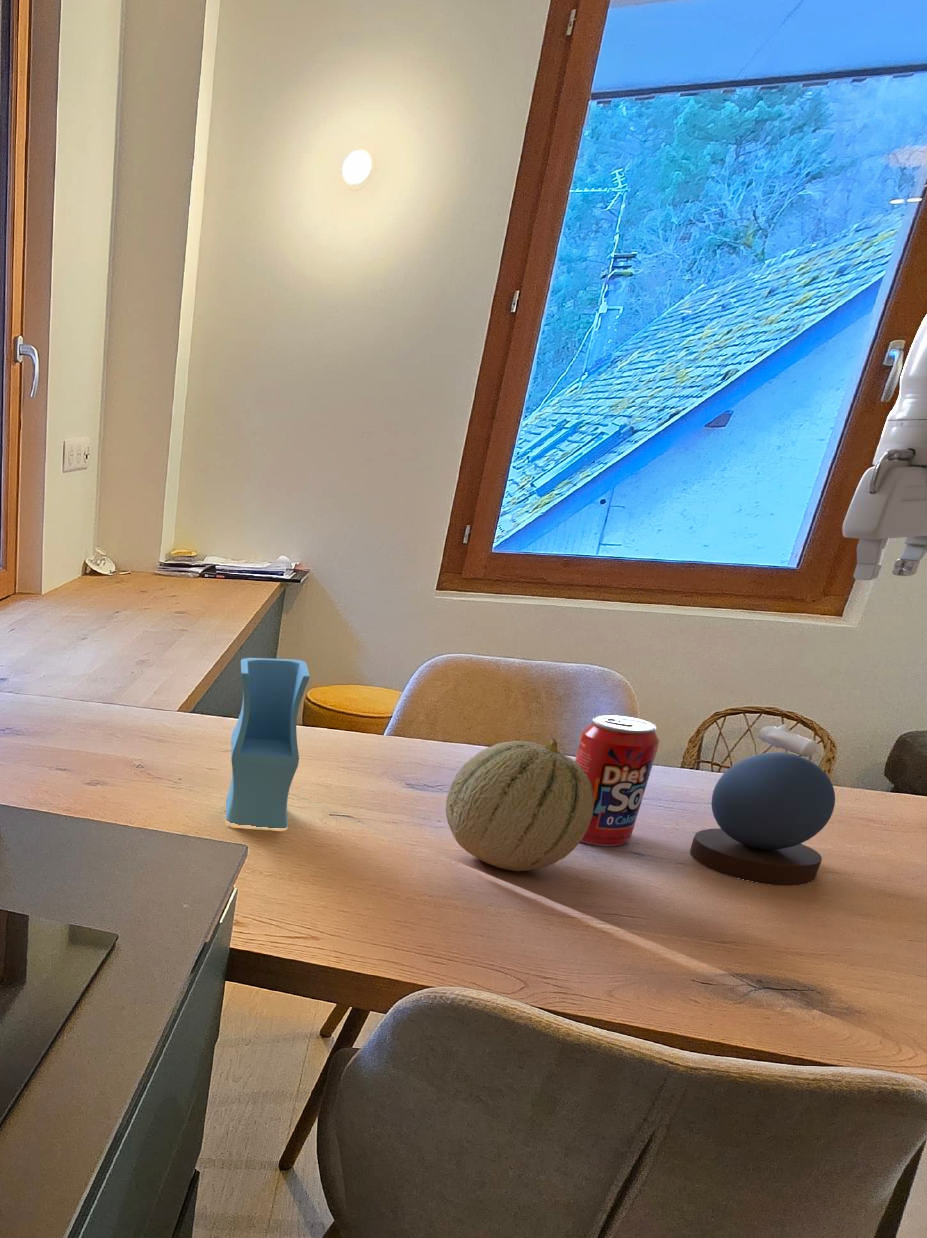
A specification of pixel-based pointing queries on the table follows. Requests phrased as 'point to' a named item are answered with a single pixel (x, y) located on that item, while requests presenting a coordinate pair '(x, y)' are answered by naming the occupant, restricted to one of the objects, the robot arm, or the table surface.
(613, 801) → the soda can
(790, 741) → the small white plastic part
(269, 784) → the vase
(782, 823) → the blue egg sculpture
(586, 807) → the cantaloupe
